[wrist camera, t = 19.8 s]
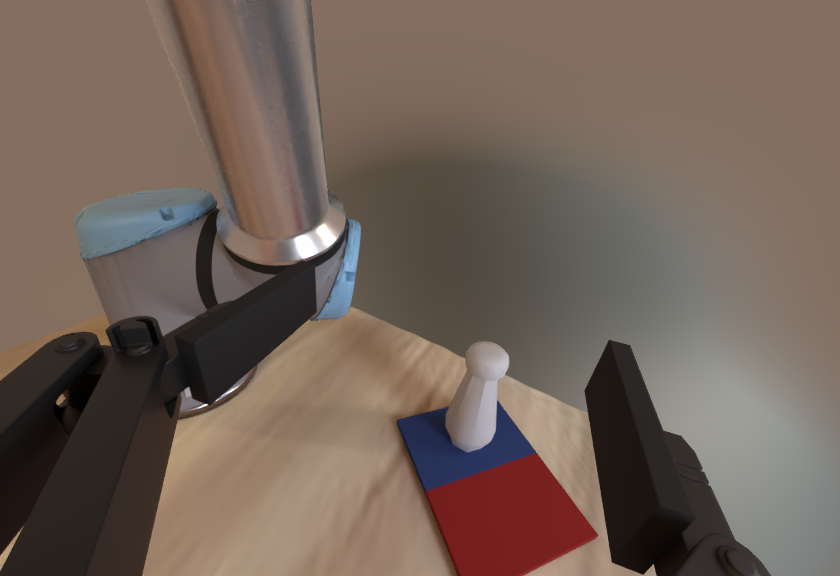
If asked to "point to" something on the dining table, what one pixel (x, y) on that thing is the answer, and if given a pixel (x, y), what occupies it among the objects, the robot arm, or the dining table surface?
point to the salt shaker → (477, 397)
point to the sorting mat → (493, 498)
